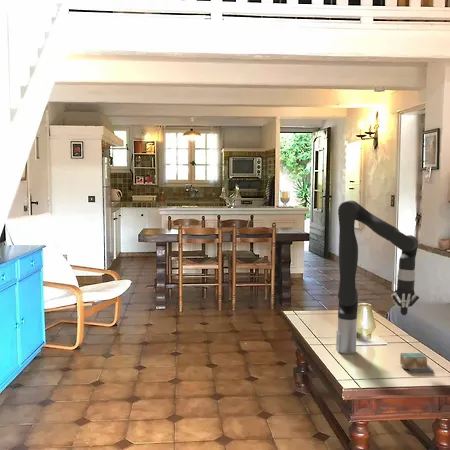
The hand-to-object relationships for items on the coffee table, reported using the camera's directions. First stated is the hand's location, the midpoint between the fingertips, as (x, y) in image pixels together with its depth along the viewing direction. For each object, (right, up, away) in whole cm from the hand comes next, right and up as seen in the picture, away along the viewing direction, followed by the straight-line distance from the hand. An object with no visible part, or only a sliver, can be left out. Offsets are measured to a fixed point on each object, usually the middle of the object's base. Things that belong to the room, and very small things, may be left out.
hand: (403, 314), depth 239 cm
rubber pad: (+5, -23, -6) cm, 25 cm away
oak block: (-3, -20, -6) cm, 21 cm away
